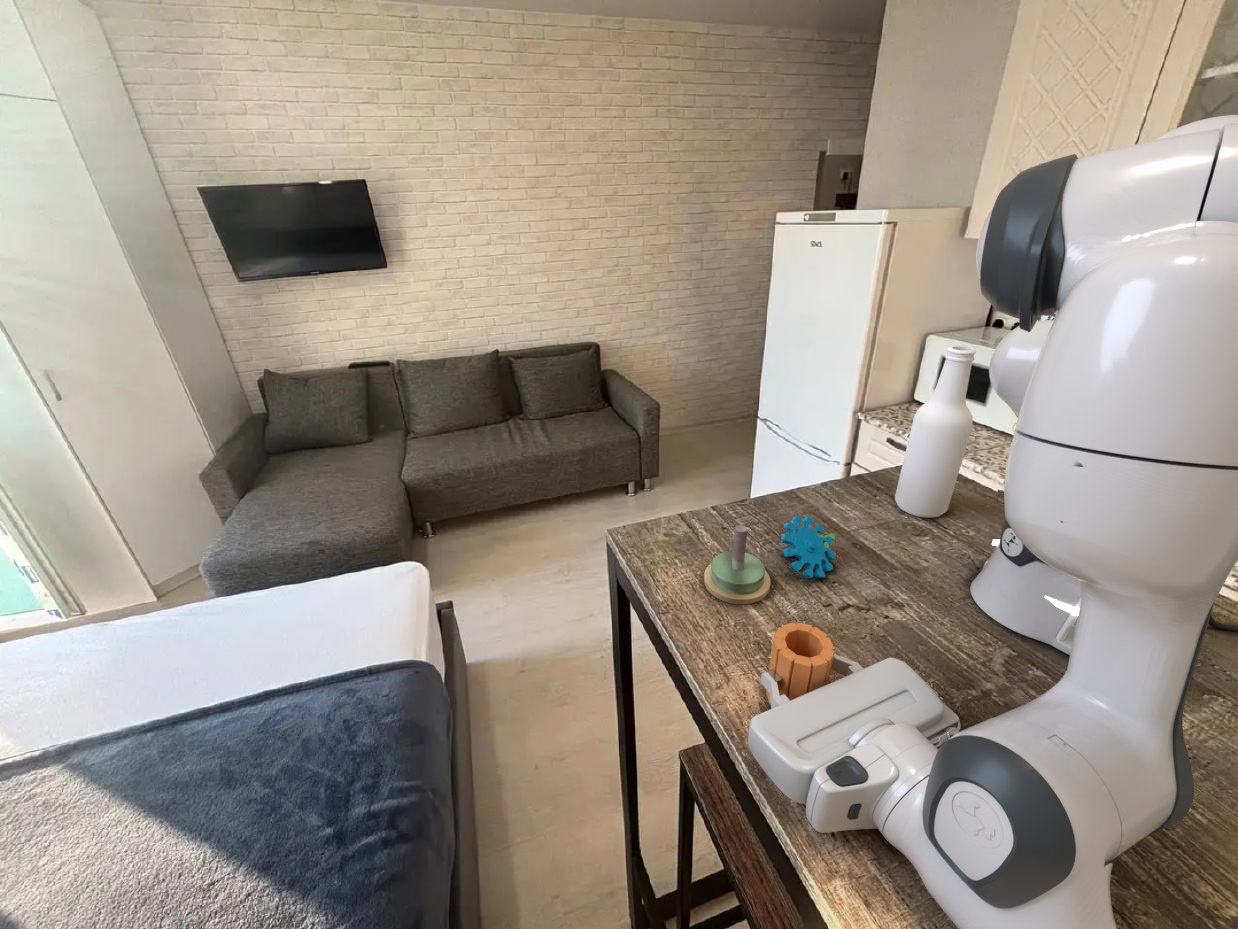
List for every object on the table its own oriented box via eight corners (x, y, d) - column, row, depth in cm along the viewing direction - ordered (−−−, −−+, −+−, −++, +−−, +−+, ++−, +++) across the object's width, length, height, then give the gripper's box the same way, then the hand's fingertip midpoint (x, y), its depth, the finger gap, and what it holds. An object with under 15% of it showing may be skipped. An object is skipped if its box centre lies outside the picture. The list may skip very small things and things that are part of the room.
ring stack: (761, 561, 83) (767, 509, 78) (777, 604, 74) (784, 548, 70) (700, 562, 83) (702, 510, 79) (708, 605, 75) (711, 549, 70)
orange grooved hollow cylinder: (812, 676, 63) (822, 621, 59) (830, 723, 57) (843, 666, 53) (761, 676, 63) (768, 622, 59) (774, 723, 57) (782, 666, 53)
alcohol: (952, 522, 91) (1003, 356, 77) (897, 515, 93) (937, 354, 80) (940, 497, 98) (985, 342, 85) (890, 492, 101) (925, 341, 87)
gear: (802, 584, 75) (777, 520, 78) (776, 591, 80) (753, 530, 83) (851, 568, 80) (826, 508, 83) (824, 575, 85) (801, 519, 88)
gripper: (981, 709, 49) (868, 615, 60) (811, 798, 42) (720, 673, 54) (963, 751, 52) (858, 653, 63) (801, 840, 45) (717, 713, 57)
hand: (793, 663), depth 58 cm, fingers closed on orange grooved hollow cylinder, 6 cm apart
